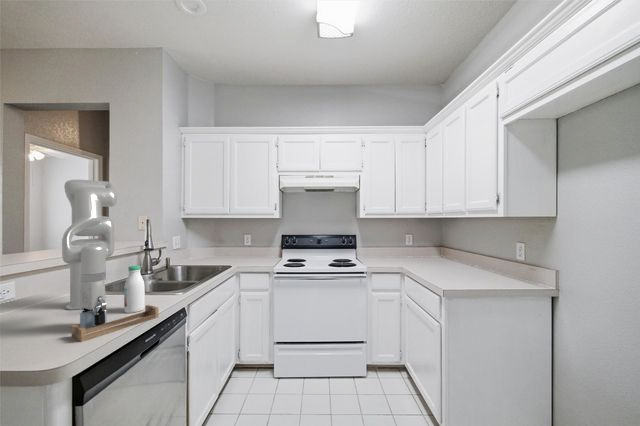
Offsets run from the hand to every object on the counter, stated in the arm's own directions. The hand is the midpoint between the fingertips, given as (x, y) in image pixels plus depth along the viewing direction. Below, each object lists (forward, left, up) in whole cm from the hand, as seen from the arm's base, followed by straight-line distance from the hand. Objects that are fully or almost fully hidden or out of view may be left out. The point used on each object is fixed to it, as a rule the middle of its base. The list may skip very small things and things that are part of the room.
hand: (93, 322), depth 109 cm
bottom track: (+8, +5, -2) cm, 10 cm away
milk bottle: (-6, +18, -2) cm, 19 cm away
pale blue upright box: (0, 0, -2) cm, 2 cm away
